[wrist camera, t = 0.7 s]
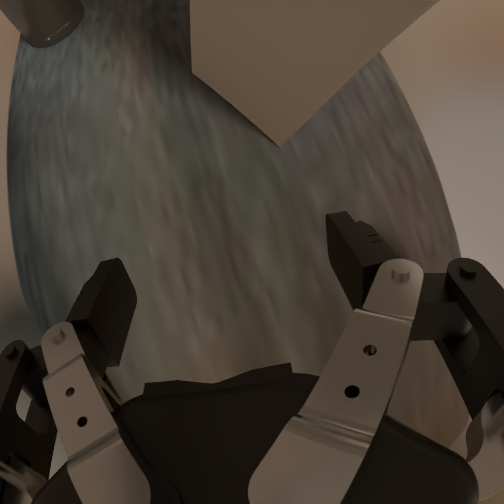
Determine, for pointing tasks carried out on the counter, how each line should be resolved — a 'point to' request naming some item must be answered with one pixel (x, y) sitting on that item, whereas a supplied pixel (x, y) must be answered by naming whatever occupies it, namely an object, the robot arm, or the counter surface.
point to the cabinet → (290, 52)
